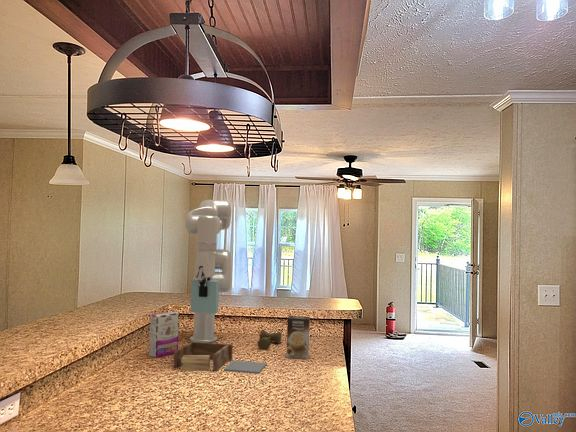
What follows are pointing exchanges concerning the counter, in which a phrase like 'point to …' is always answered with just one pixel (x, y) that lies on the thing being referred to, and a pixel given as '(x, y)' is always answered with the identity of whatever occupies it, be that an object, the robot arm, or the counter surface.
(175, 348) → the candy bar box
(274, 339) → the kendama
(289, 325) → the coffee box
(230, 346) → the frame
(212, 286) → the pale teal block
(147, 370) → the counter surface
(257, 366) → the slate mat
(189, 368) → the offcut stack
